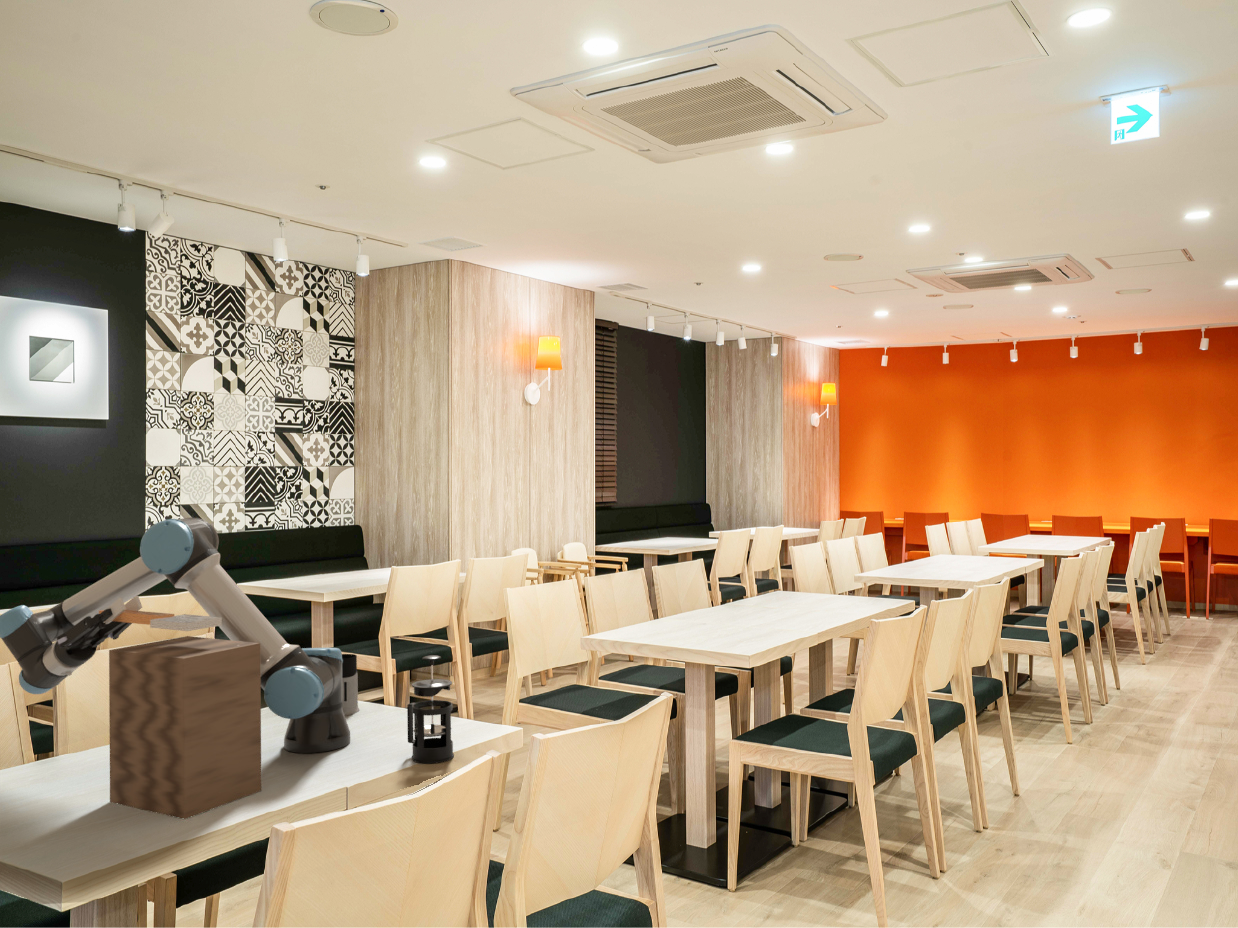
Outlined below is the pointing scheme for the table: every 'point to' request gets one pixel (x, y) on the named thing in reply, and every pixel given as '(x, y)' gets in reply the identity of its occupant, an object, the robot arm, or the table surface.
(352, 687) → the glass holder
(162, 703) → the walnut stand
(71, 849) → the table surface
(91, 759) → the table surface
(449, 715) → the french press
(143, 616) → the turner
